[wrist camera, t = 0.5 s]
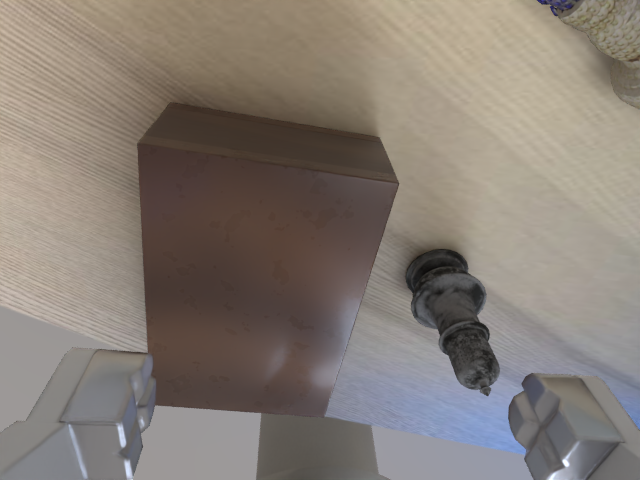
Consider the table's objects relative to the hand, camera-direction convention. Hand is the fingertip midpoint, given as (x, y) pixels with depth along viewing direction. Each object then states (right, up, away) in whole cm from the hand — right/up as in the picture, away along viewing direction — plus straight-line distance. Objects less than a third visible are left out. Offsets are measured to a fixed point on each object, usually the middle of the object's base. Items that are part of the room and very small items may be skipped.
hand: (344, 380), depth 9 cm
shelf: (-5, +2, +25) cm, 26 cm away
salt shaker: (+9, 0, +28) cm, 29 cm away
